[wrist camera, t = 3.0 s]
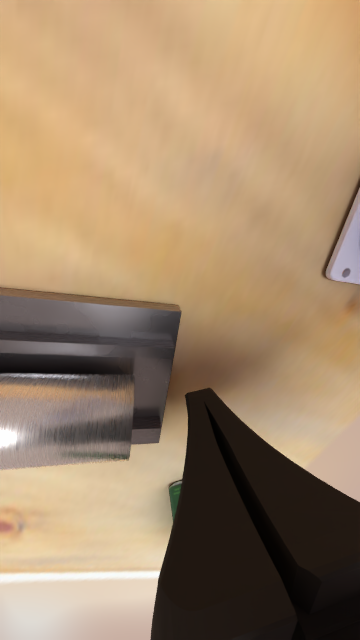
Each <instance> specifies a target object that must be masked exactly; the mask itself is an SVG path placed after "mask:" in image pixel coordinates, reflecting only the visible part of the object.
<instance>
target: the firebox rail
mask: <svg viewBox="0 0 360 640" xmlns="http://www.w3.org/2000/svg"><path fill="white" fill-rule="evenodd" d="M180 317H181V310H180V308H179V306H178V305H171V304H161V303H151V302H141V301H130V300H120V299H110V298H100V297H90V296H79V295H69V294H59V293H49V292H39V291H28V290H18V289H8V288H0V373H51V374H108V375H134V378H135V382H134V406H133V422H132V436H131V444H148V443H159V438H160V433H161V427H162V421H163V415H164V410H165V404H166V398H167V392H168V386H169V381H170V375H171V369H172V363H173V358H174V352H175V346H176V340H177V335H178V329H179V323H180Z"/></svg>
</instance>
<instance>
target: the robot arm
mask: <svg viewBox="0 0 360 640" xmlns="http://www.w3.org/2000/svg"><path fill="white" fill-rule="evenodd" d="M343 271H344V272H343ZM342 272H343V274H342ZM326 277H327V278H328V279H331V280H335V281H341V282H348V283H354V284H360V188H359V191H358V193H357V196H356V198H355V201H354V203H353V205H352V208H351V210H350V213H349V215H348V218H347V220H346V223H345V225H344V228H343V230H342V232H341V235H340V237H339V240H338V242H337V245H336V247H335V250H334V252H333V255H332V257H331V260H330V262H329V264H328V267H327V269H326ZM185 398H186V405H187V412H188V437H187V449H186V458H185V465H184V472H183V478H182V484H181V490H180V495H179V500H178V505H177V509H176V513H175V518H174V522H173V526H172V531H171V535H170V539H169V543H168V546H167V550H166V554H165V557H164V561H163V564H162V568H161V572H160V575H159V579H158V587H157V593H156V600H155V606H154V613H153V620H152V630H151V640H360V502H358V501H356V500H354V499H353V498H351V497H349V496H347V495H345V494H344V493H342V492H340V491H338V490H337V489H335V488H333V487H332V486H330V485H328V484H327V483H325V482H323V481H322V480H320V479H318V478H317V477H315V476H314V475H312V474H311V473H309V472H308V471H306V470H305V469H303V468H302V467H300V466H299V465H297V464H296V463H294V462H293V461H291V460H290V459H288V458H287V457H285V456H284V455H283V454H281V453H280V452H279V451H277V450H276V449H275V448H273V447H272V446H271V445H269V444H268V443H267V442H266V441H264V440H263V439H262V438H261V437H259V436H258V435H257V434H256V433H255V432H254V431H252V430H251V429H250V428H249V427H248V426H247V425H246V424H245V423H244V422H242V421H241V420H240V419H239V418H238V417H237V416H236V415H235V414H234V413H233V412H232V411H231V410H230V409H229V408H228V407H227V406H226V405H225V404H224V402H223V401H222V400H221V399H220V398H219V397H218V396H217V395H216V393H215V392H214V391H213V390H212V389H211V388H207V389H203V390H199V391H194V392H190V393H187V394H186V395H185Z"/></svg>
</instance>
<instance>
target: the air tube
mask: <svg viewBox="0 0 360 640" xmlns="http://www.w3.org/2000/svg"><path fill="white" fill-rule="evenodd" d="M134 382H135V378H134V375H108V374H51V373H0V470H7V469H20V468H34V467H47V466H61V465H74V464H88V463H101V462H114V461H128V460H129V456H130V447H131V436H132V422H133V406H134Z"/></svg>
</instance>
